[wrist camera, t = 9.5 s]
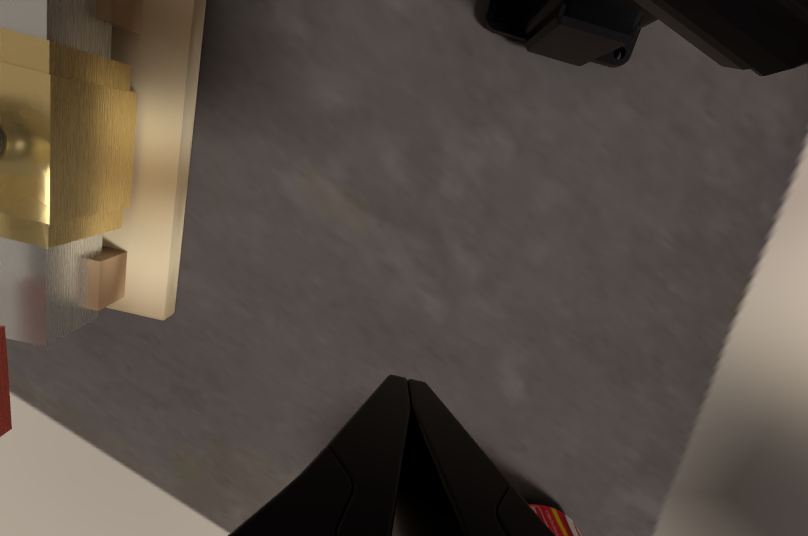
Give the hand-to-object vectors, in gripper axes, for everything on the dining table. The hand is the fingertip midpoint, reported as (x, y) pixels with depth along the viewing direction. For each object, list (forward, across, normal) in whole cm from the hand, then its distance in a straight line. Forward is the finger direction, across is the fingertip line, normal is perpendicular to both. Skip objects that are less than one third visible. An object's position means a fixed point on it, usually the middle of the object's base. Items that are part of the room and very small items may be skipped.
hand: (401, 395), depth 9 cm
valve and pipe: (+11, +15, -2) cm, 19 cm away
